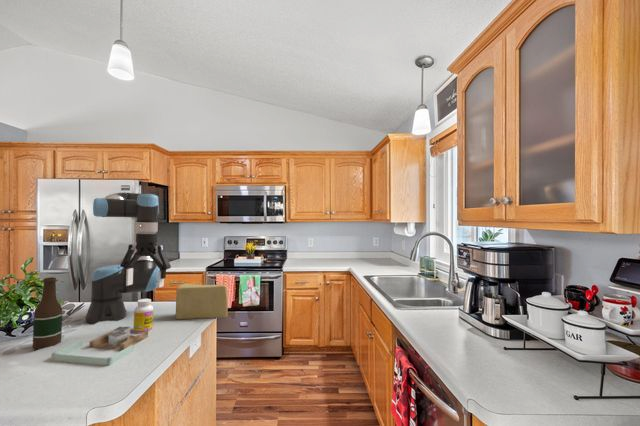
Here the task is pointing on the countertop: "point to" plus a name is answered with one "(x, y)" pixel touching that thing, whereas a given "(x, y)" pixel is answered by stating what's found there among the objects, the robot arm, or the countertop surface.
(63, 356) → the tray
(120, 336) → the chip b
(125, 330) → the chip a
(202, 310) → the tan rectangular block
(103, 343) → the slot board
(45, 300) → the beer bottle
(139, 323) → the supplement bottle
